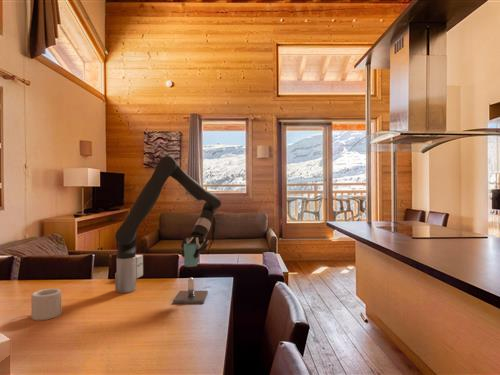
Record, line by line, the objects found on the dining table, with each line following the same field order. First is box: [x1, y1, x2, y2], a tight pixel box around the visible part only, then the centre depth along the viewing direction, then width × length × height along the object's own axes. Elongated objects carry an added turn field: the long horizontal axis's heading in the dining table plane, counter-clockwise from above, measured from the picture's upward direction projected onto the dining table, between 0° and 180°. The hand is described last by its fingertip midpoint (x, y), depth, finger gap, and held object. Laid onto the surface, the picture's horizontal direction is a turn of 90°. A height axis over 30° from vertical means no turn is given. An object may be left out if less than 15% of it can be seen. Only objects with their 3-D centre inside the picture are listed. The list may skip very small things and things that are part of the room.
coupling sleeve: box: [183, 243, 199, 268], centre depth 159 cm, size 6×6×10 cm
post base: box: [172, 277, 209, 305], centre depth 159 cm, size 14×14×10 cm
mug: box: [30, 288, 63, 321], centre depth 140 cm, size 14×11×10 cm
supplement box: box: [136, 254, 144, 280], centre depth 199 cm, size 7×7×13 cm
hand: (188, 256), depth 158 cm, fingers closed on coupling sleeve, 6 cm apart
